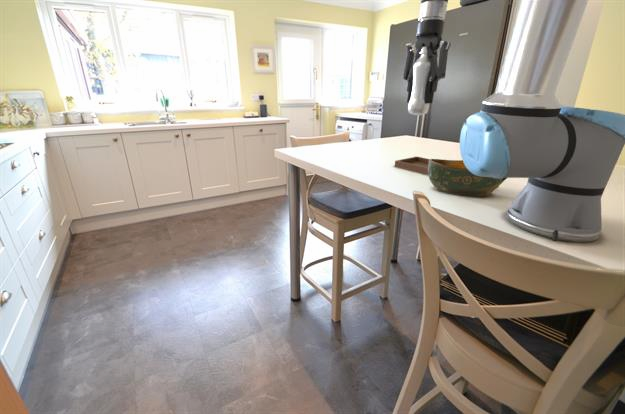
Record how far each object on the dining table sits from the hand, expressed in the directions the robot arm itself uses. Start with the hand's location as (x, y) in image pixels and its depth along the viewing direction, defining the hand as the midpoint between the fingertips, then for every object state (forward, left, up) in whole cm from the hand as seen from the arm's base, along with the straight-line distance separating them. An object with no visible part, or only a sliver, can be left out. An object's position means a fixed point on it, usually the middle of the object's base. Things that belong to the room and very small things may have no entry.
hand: (419, 102), depth 94 cm
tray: (+5, -6, -23) cm, 24 cm away
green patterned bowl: (-9, -25, -23) cm, 35 cm away
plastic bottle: (0, 0, -4) cm, 4 cm away
